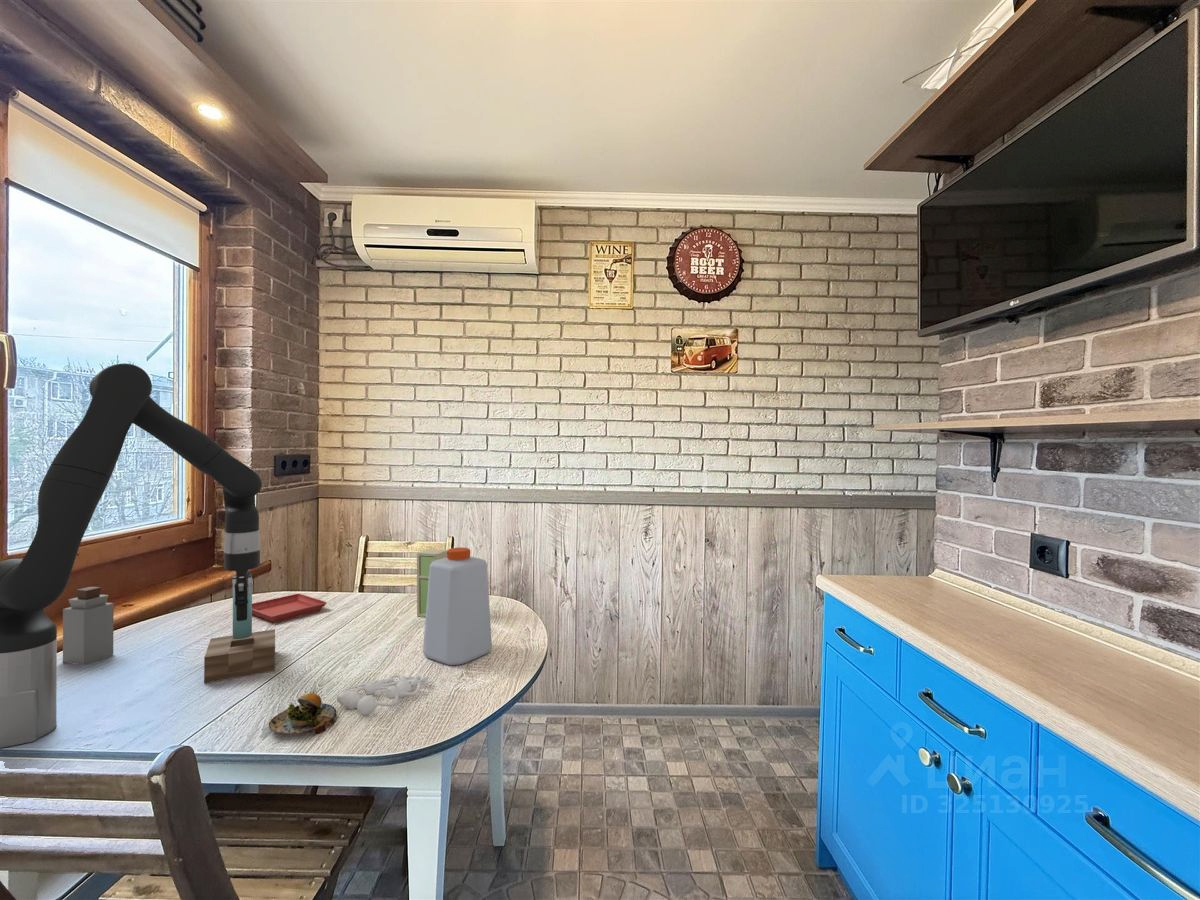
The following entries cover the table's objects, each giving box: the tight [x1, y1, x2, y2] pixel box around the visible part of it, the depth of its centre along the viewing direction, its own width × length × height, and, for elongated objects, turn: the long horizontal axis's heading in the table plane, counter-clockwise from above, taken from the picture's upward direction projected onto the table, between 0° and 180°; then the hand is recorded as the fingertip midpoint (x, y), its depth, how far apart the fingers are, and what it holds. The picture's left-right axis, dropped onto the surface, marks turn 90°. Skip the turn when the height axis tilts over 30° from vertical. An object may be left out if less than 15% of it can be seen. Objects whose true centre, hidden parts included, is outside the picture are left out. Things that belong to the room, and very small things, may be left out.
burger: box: [268, 685, 338, 736], centre depth 106 cm, size 12×12×8 cm
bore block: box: [203, 628, 276, 684], centre depth 134 cm, size 14×14×6 cm
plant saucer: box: [252, 593, 328, 623], centre depth 176 cm, size 18×18×3 cm
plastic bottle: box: [422, 547, 493, 666], centre depth 144 cm, size 15×15×28 cm
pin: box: [232, 574, 253, 639], centre depth 134 cm, size 4×4×15 cm
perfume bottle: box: [62, 586, 115, 666], centre depth 137 cm, size 7×7×18 cm
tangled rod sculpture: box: [336, 674, 429, 716], centre depth 119 cm, size 19×14×4 cm
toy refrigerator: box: [416, 548, 449, 618], centre depth 175 cm, size 8×7×21 cm
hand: (242, 617), depth 134 cm, fingers closed on pin, 4 cm apart
